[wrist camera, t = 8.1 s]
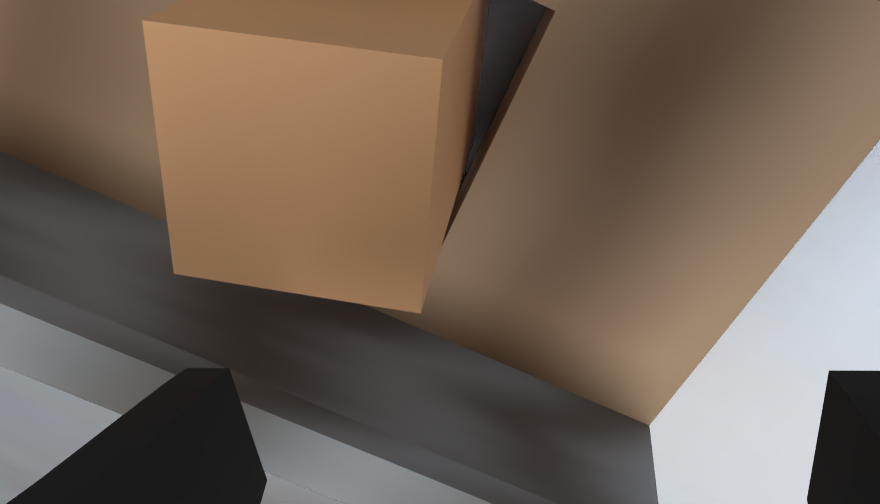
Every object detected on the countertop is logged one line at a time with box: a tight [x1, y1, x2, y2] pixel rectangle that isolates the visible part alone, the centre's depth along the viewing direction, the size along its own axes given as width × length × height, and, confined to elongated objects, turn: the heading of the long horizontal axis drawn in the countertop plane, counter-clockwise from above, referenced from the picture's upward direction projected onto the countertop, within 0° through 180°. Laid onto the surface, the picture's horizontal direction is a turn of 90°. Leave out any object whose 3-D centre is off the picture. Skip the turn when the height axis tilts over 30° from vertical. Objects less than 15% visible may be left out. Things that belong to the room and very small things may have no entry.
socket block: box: [0, 0, 880, 504], centre depth 14 cm, size 18×11×7 cm, turn 68°
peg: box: [142, 0, 490, 314], centre depth 14 cm, size 4×4×7 cm
